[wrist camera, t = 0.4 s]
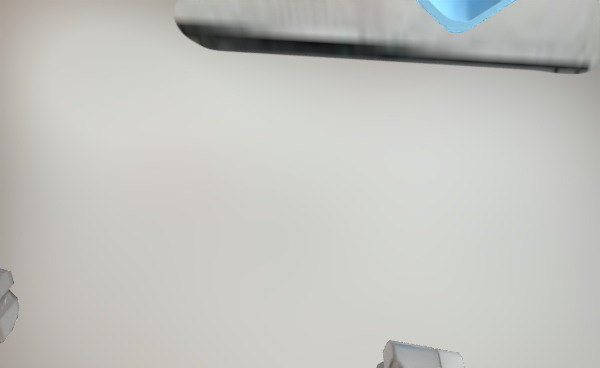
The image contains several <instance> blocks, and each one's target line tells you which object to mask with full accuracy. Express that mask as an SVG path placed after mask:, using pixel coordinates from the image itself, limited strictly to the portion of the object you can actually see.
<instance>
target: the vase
mask: <svg viewBox="0 0 600 368" xmlns="http://www.w3.org/2000/svg"><path fill="white" fill-rule="evenodd" d="M416 1H417V2H418V3H419V4H420V5H421V6H422V7H423V8H424V9H425V10H426V11H427V12H428V13H429V14H430V15H431V16H432V17H433V18H434V19H435V20H436V21H437V22H438V23H439V24H441V25H442V26H443V27H444V28H445V29H446V30H448V31H449V32H452V33H461V32H464V31H467V30H469V29H470V28H472V27H474V26H476V25H477V24H479V23H481V22H482V21H484V20H485V19H487V18H489V17H490V16H492V15H493V14H495V13H497V12H498V11H500V10H501V9H503V8H505V7H506V6H508V5H509V4H511V3H513V2H514V1H516V0H416Z"/></svg>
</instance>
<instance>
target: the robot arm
mask: <svg viewBox="0 0 600 368" xmlns="http://www.w3.org/2000/svg"><path fill="white" fill-rule="evenodd" d="M13 283H14V281H13V278H12V274H11V271H8V270H4V269H0V343H2V342H3V341H4V340H5V339H6V338H7V336H8V335H9V334H10V332H11V331H12V330H13V327H14V325H15V322H16V320H17V318H18V311H19V304H18V299H17V297H16V296H15V295H14V294H13V293H12V292H11V291H10V290H9V288H10V287H11V286H12V285H13ZM383 358H384V361H383V362H382V363H380V364H378V365H377V368H465V366H464V362H463V358H462V356H461V355H460V354H459V353H458V352H452V351H447V350H441V349H434V348H432V347H426V346H420V345H414V344H409V343H403V342H397V341H391V340H389V341H388V342H387V344H386V346H385V348H384V350H383Z"/></svg>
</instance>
